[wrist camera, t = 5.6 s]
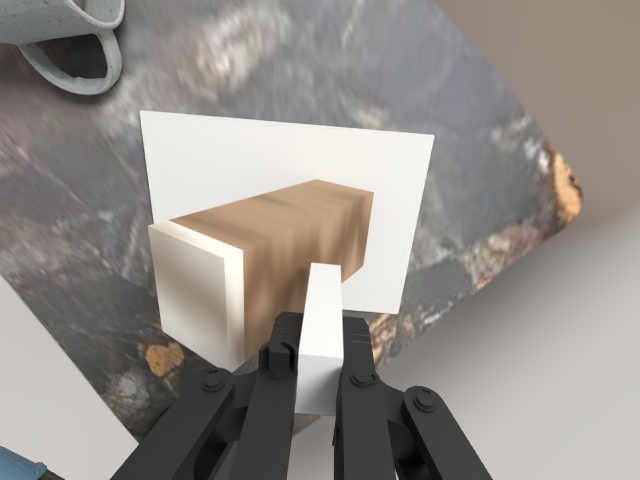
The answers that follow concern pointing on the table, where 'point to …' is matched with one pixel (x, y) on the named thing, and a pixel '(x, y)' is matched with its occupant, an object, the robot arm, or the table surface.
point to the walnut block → (252, 264)
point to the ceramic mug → (63, 35)
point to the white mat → (295, 181)
